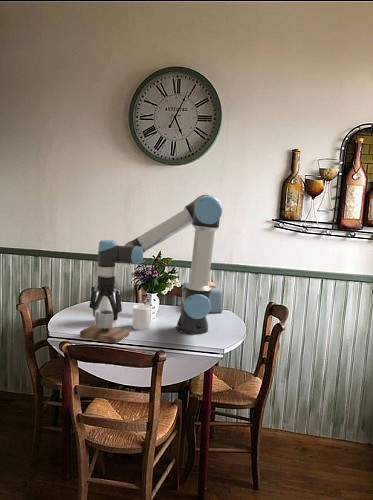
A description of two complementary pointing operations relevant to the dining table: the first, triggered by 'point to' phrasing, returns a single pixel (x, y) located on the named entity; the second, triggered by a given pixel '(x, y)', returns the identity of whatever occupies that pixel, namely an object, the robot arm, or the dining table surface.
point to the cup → (141, 317)
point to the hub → (104, 318)
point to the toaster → (215, 299)
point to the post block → (104, 334)
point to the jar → (104, 303)
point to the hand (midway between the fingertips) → (105, 325)
